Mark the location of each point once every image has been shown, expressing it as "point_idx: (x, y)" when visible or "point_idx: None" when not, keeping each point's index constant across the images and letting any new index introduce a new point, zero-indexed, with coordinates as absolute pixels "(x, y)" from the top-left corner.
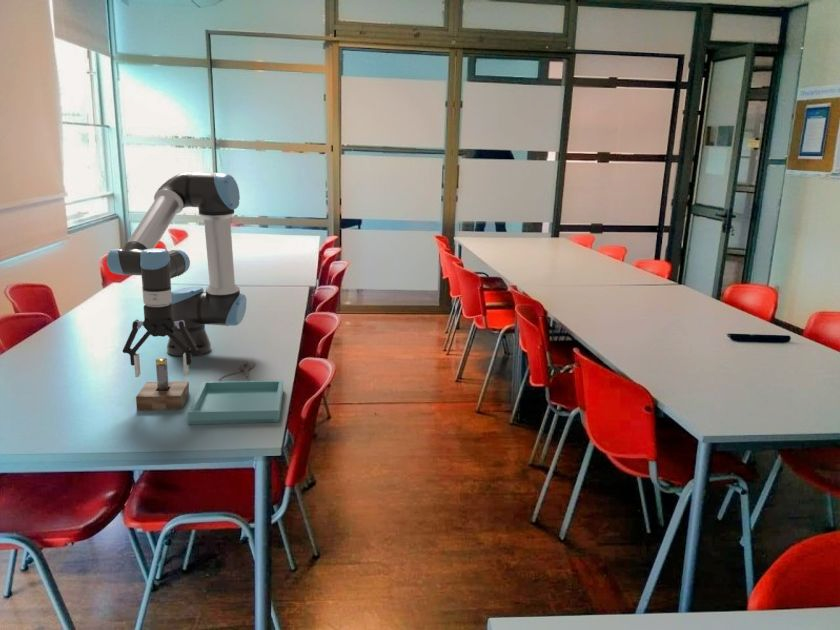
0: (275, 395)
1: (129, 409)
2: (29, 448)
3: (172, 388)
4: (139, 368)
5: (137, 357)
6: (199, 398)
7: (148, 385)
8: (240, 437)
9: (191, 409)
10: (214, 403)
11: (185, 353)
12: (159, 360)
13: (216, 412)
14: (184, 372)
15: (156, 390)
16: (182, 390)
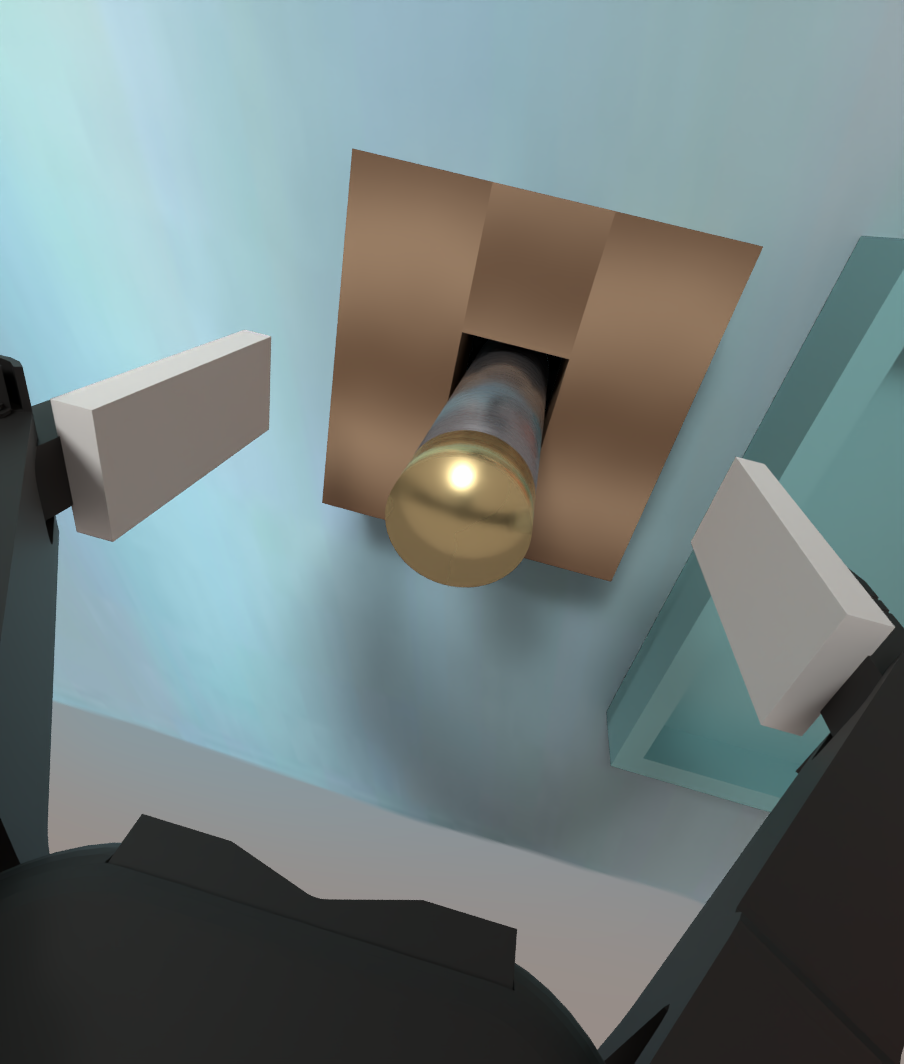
0: None
1: (311, 439)
2: (64, 682)
3: (575, 414)
4: (233, 380)
5: (136, 484)
6: None
7: (378, 270)
8: None
9: (637, 745)
10: None
11: (830, 673)
12: (434, 557)
13: (755, 804)
14: (705, 566)
15: (450, 393)
16: (646, 483)
